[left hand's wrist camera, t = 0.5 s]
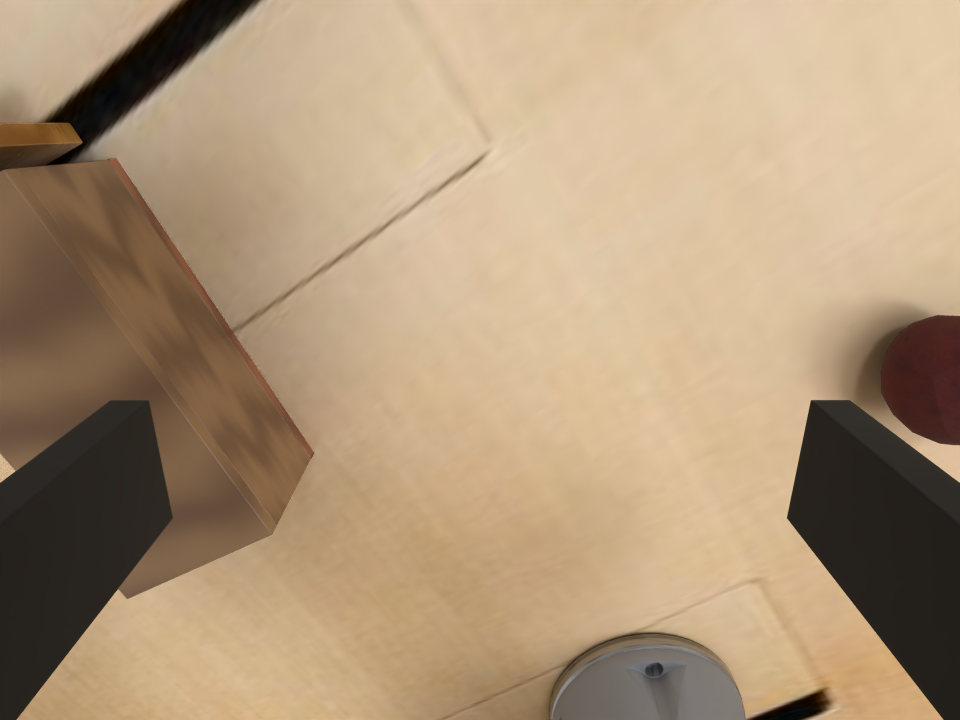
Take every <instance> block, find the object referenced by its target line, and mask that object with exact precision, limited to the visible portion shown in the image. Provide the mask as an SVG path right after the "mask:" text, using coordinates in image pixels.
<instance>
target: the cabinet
mask: <svg viewBox="0 0 960 720" xmlns="http://www.w3.org/2000/svg"><path fill="white" fill-rule="evenodd" d="M110 400H149V403H150V408H151V413H152V417H153V422H154V427H155V432H156V437H157V442H158V447H159V452H160V457H161V462H162V467H163V471H164V476H165V481H166V486H167V491H168V496H169V501H170V506H171V511H172V516H173V519H172V520H171V521H170V523H169V524H168V525H167V526H166V528H165V529H164V530H163V532H162V533H161V534H160V535H159V537H158V538H157V539H156V541H155V542H154V543H153V544H152V546H151V547H150V548H149V550H148V551H147V552H146V553H145V555H144V556H143V557H142V559H141V560H140V561H139V562H138V564H137V565H136V566H135V568H134V569H133V570H132V571H131V573H130V574H129V575H128V577H127V578H126V579H125V580H124V582H123V583H122V584H121V586H120V587H119V588H118V589H119V590H120V591H121V592H122V594H123V595H124V596H125V597H126V598H127V599H128V598H131V597H133V596H135V595H137V594H140V593H142V592H144V591H146V590H149V589H151V588H153V587H155V586H158V585H160V584H162V583H164V582H166V581H169V580H171V579H173V578H175V577H178V576H180V575H182V574H184V573H187V572H189V571H191V570H193V569H196V568H198V567H200V566H202V565H205V564H207V563H209V562H211V561H214V560H216V559H218V558H220V557H223V556H225V555H227V554H229V553H231V552H234V551H236V550H238V549H240V548H243V547H245V546H247V545H249V544H252V543H254V542H256V541H258V540H261V539H263V538H265V537H267V536H270V535H272V534H273V532H274V530H275V528H276V525H277V524H278V522H279V520H280V518H281V516H282V514H283V512H284V510H285V508H286V506H287V504H288V502H289V500H290V498H291V496H292V494H293V492H294V490H295V488H296V486H297V484H298V482H299V480H300V478H301V476H302V475H303V473H304V471H305V469H306V467H307V465H308V463H309V461H310V459H311V458H312V456H313V454H314V452H313V451H312V450H311V448H310V447H309V445H308V444H307V442H306V441H305V439H304V438H303V436H302V435H301V433H300V432H299V430H298V429H297V427H296V426H295V424H294V423H293V421H292V420H291V418H290V417H289V415H288V414H287V412H286V411H285V409H284V408H283V406H282V405H281V403H280V402H279V400H278V399H277V397H276V396H275V394H274V393H273V391H272V390H271V389H270V387H269V386H268V384H267V383H266V381H265V380H264V378H263V377H262V375H261V374H260V372H259V371H258V369H257V368H256V366H255V365H254V363H253V362H252V360H251V359H250V357H249V356H248V354H247V353H246V351H245V350H244V348H243V347H242V345H241V344H240V342H239V341H238V339H237V338H236V336H235V335H234V333H233V332H232V330H231V329H230V327H229V326H228V325H227V323H226V322H225V320H224V319H223V317H222V316H221V314H220V313H219V311H218V310H217V308H216V307H215V305H214V304H213V302H212V301H211V299H210V298H209V296H208V295H207V293H206V292H205V290H204V289H203V287H202V286H201V284H200V283H199V281H198V280H197V278H196V277H195V275H194V274H193V272H192V271H191V269H190V268H189V266H188V265H187V264H186V262H185V261H184V259H183V258H182V256H181V255H180V253H179V252H178V250H177V249H176V247H175V246H174V244H173V243H172V241H171V240H170V238H169V237H168V235H167V234H166V232H165V231H164V229H163V228H162V226H161V225H160V223H159V222H158V220H157V219H156V217H155V216H154V214H153V213H152V211H151V210H150V208H149V207H148V205H147V204H146V203H145V201H144V200H143V198H142V197H141V195H140V194H139V192H138V191H137V189H136V188H135V186H134V185H133V183H132V182H131V180H130V179H129V177H128V176H127V174H126V173H125V171H124V170H123V168H122V167H121V165H120V164H119V162H118V161H117V159H116V158H115V159H108V160H101V161H91V162H80V163H70V164H60V165H49V166H39V167H28V168H18V169H7V170H2V171H1V172H0V453H1V455H2V456H3V457H4V458H5V459H6V460H7V461H8V463H9V464H10V465H11V466H12V467H13V468H14V469H15V471H17V470H18V469H20V468H21V467H22V466H24V465H25V464H26V463H28V462H29V461H30V460H32V459H33V458H34V457H36V456H37V455H38V454H40V453H41V452H42V451H44V450H45V449H46V448H48V447H49V446H50V445H52V444H53V443H54V442H56V441H57V440H58V439H60V438H61V437H62V436H64V435H65V434H66V433H68V432H69V431H70V430H71V429H73V428H74V427H75V426H77V425H78V424H79V423H81V422H82V421H83V420H85V419H86V418H87V417H89V416H90V415H91V414H93V413H94V412H95V411H97V410H98V409H99V408H101V407H102V406H103V405H105V404H106V403H107V402H109V401H110Z"/></svg>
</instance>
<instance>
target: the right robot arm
mask: <svg viewBox="0 0 960 720" xmlns="http://www.w3.org/2000/svg"><path fill="white" fill-rule="evenodd" d="M550 720H745V711H744V706H743V703H742V698H741V695H740V692H739V690H738V687H737V685H736V683H735V681H734V679H733V677H732V675H731V673H730V671H729V669H728V668H727V666H726V665H725V664H724V662H723V661H722V660H721V659H720V658H719V657H718V656H717V655H715V654H714V653H713V652H711V651H710V650H709V649H707V648H705V647H704V646H702V645H700V644H698V643H695V642H693V641H690V640H687V639H684V638H680V637H676V636H671V635H663V634H641V635H632V636H626V637H622V638H618V639H615V640H612V641H608V642H606V643H603V644H601V645H599V646H597V647H595V648H593V649H591V650H589V651H588V652H586V653H584V654H583V655H582V656H580V657H579V658H578V659H576V660H575V661H574V662H573V663H572V664H571V665H570V666H569V667H568V668H567V669H566V670H565V671H564V673H563V674H562V675H561V676H560V678H559V680H558V681H557V683H556V685H555V687H554V690H553V693H552V696H551V701H550Z"/></svg>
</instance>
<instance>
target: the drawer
mask: <svg viewBox="0 0 960 720" xmlns="http://www.w3.org/2000/svg"><path fill="white" fill-rule="evenodd" d="M80 144H82V140H81V139H80V138H79V136H78V135H77V133H76V132H75V130H74V129H73V127H72V126H71V124H70V123H0V172H1V171H2V170H7V169H18V168H28V167H39V166H45V165H47V164H48V163H50V162H52V161H53V160H55V159H57V158H58V157H60V156H62V155H63V154H65V153H67V152H68V151H70V150H72V149H73V148H75V147H77V146H78V145H80Z"/></svg>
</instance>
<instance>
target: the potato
mask: <svg viewBox="0 0 960 720" xmlns="http://www.w3.org/2000/svg"><path fill="white" fill-rule="evenodd" d="M881 393H882V395H883V397H884V399H885V401H886V403H887V404H888V406H889V408H890V410H891V411H892V413H893V415H894V416H895V417H897V418H898V419H899V420H900V421H901V422H902V423H903V424H904V425H905V426H906V427H907V428H908V429H909V430H911V431H912V432H913V433H916V434H918V435H920V436H923V437H925V438H927V439H930V440H932V441H935V442H937V443H940V444H949V445H960V316H943V315H937V316H933V317H929V318H926V319H924V320H921V321H918V322H915V323H912V324H911V325H910V326H908V327H907V328H906V329H904V330H903V331H902V332H900V333H899V334H898V336H897V337H896V338H895V340H894V341H893V342H892V344H891V345H890V347H889V349H888V352H887V355H886V357H885V360H884V363H883V366H882V371H881Z"/></svg>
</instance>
